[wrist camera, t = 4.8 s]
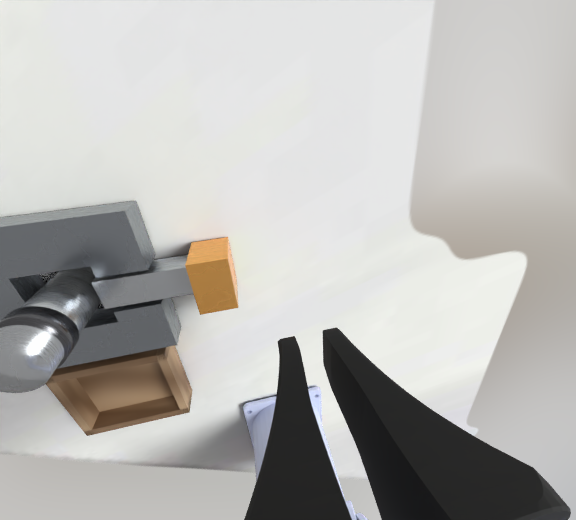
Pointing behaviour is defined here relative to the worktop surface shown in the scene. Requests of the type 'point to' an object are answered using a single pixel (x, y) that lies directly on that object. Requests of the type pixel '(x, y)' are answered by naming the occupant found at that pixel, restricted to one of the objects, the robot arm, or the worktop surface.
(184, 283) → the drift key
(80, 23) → the worktop surface
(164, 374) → the square wooden tray
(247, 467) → the worktop surface
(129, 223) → the socket
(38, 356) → the silver metal canister
